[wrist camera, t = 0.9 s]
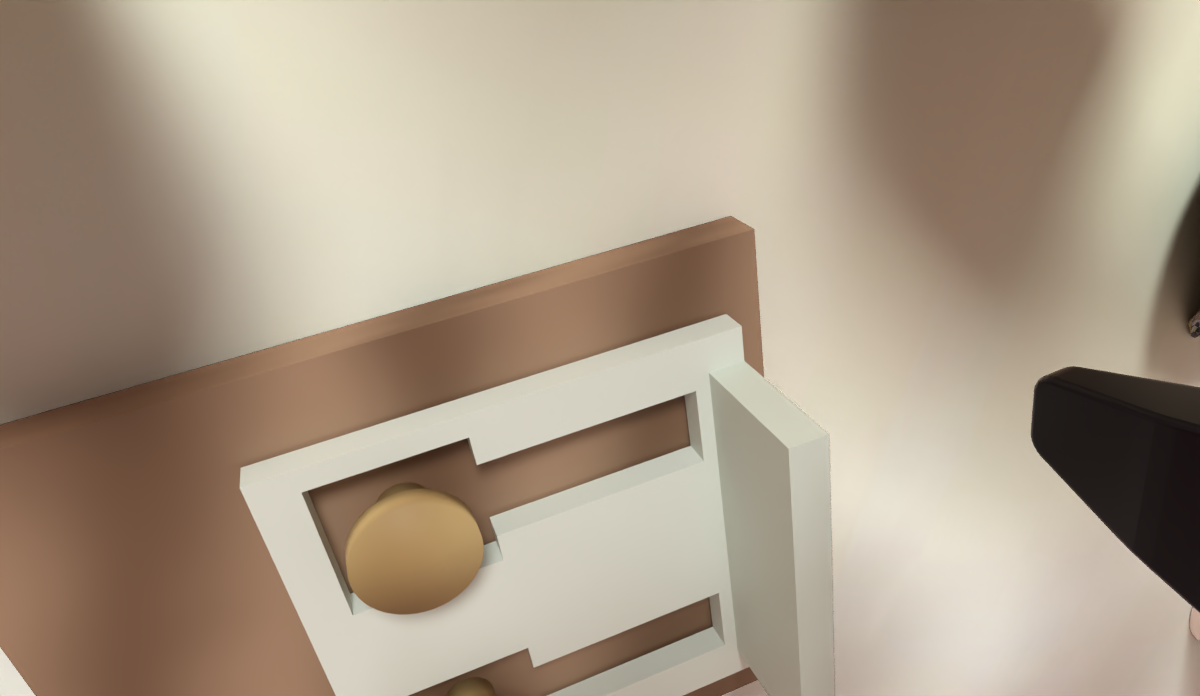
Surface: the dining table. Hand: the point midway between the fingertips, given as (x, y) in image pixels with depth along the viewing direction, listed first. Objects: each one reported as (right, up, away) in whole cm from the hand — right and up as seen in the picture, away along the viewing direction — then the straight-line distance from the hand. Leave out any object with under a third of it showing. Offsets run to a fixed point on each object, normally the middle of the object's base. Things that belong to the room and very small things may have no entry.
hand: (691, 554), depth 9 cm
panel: (-2, -4, +14) cm, 14 cm away
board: (-5, -4, +14) cm, 16 cm away
